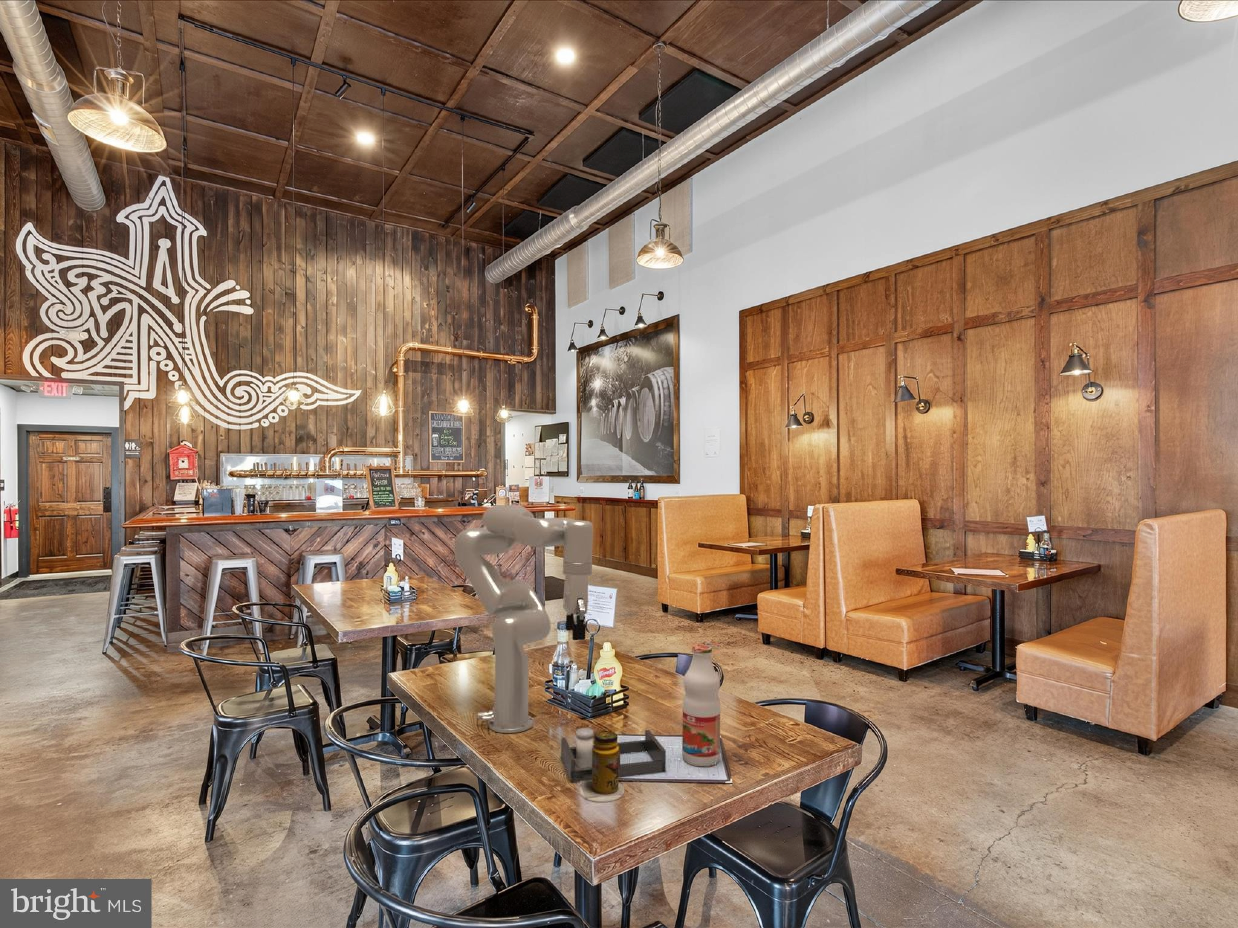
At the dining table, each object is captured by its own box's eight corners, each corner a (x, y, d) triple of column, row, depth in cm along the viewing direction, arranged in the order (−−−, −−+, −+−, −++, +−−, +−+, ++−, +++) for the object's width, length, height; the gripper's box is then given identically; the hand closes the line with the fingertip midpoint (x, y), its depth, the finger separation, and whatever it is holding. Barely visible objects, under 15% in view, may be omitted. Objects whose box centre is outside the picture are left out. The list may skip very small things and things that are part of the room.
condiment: (623, 794, 138) (624, 739, 138) (585, 798, 136) (586, 742, 136) (615, 779, 145) (616, 726, 145) (579, 782, 143) (580, 729, 143)
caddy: (570, 782, 144) (571, 760, 144) (561, 758, 156) (561, 738, 156) (665, 771, 150) (665, 750, 150) (648, 749, 162) (649, 729, 162)
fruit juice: (727, 759, 157) (728, 647, 158) (703, 771, 150) (704, 653, 151) (698, 747, 164) (699, 639, 165) (674, 758, 157) (675, 645, 158)
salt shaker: (577, 768, 151) (578, 735, 151) (574, 761, 155) (574, 728, 155) (594, 767, 152) (595, 733, 152) (590, 759, 156) (591, 727, 156)
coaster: (584, 804, 134) (584, 802, 134) (575, 782, 144) (575, 781, 144) (629, 799, 136) (629, 797, 136) (617, 778, 146) (617, 776, 146)
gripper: (557, 563, 169) (555, 626, 169) (568, 574, 153) (566, 644, 153) (585, 563, 171) (583, 626, 171) (598, 573, 155) (596, 643, 154)
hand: (575, 634), depth 162 cm, fingers open, 9 cm apart
